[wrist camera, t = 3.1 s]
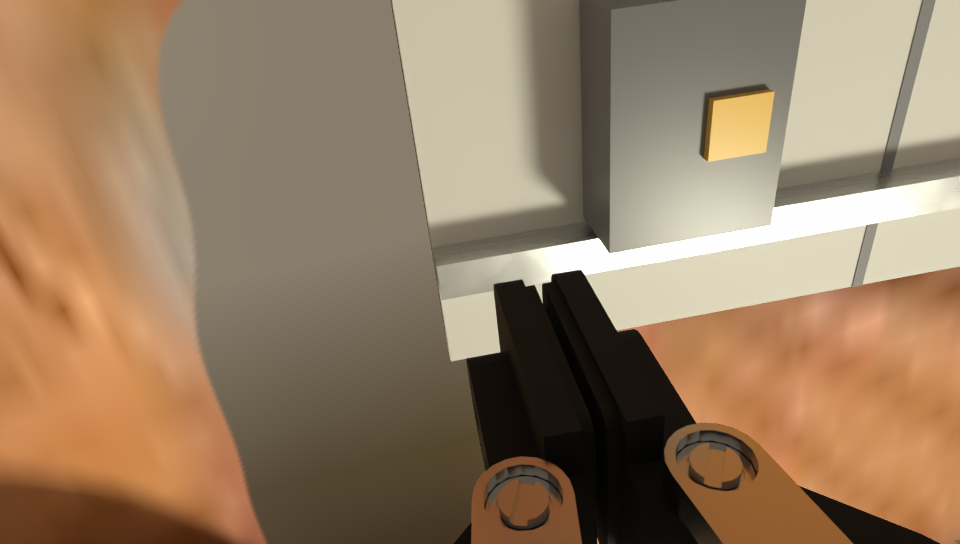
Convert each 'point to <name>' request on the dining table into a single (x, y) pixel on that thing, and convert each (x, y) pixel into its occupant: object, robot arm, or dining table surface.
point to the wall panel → (697, 262)
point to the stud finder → (683, 115)
